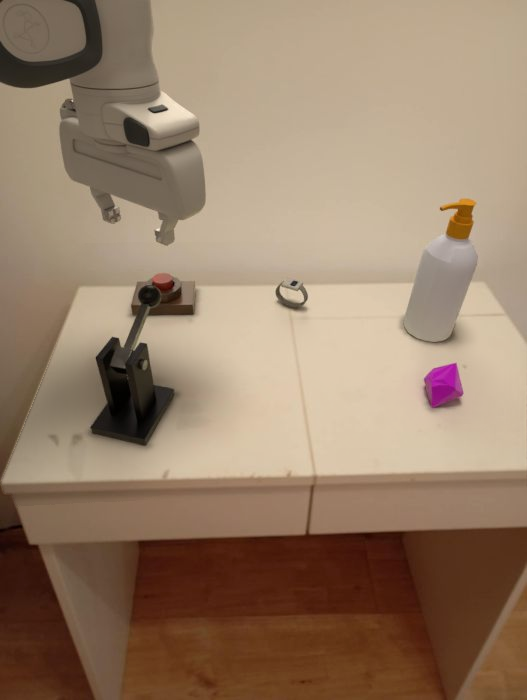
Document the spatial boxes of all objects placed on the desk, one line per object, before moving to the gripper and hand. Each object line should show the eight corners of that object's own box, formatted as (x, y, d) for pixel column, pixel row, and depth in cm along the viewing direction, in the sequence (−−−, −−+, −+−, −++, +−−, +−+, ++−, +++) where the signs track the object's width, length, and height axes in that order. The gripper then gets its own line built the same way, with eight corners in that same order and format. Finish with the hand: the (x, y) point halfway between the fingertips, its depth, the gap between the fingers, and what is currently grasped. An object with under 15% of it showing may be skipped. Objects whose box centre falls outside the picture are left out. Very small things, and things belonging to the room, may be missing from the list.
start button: (152, 291, 85) (151, 283, 84) (154, 281, 88) (153, 272, 87) (172, 291, 85) (171, 283, 84) (173, 280, 88) (173, 272, 87)
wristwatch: (272, 304, 90) (274, 282, 86) (278, 297, 91) (280, 275, 88) (302, 313, 88) (305, 291, 84) (308, 306, 89) (310, 283, 86)
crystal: (418, 383, 74) (425, 362, 71) (451, 383, 74) (460, 361, 71) (428, 408, 70) (437, 386, 67) (463, 407, 71) (473, 386, 68)
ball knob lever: (146, 291, 68) (139, 278, 65) (167, 294, 67) (161, 282, 64) (113, 372, 62) (104, 363, 59) (135, 377, 62) (127, 368, 59)
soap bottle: (389, 321, 87) (422, 195, 71) (429, 309, 90) (468, 186, 74) (420, 349, 81) (462, 218, 65) (461, 335, 84) (511, 208, 69)
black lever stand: (125, 383, 72) (112, 322, 64) (174, 394, 71) (166, 332, 63) (91, 432, 65) (72, 369, 57) (145, 445, 63) (132, 382, 56)
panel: (132, 315, 86) (129, 296, 83) (138, 291, 92) (135, 273, 89) (193, 314, 86) (192, 296, 84) (195, 290, 92) (194, 272, 90)
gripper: (33, 100, 52) (64, 217, 61) (168, 136, 44) (180, 266, 53) (80, 90, 56) (102, 202, 65) (211, 122, 48) (216, 245, 57)
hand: (138, 231), depth 59 cm, fingers open, 8 cm apart
